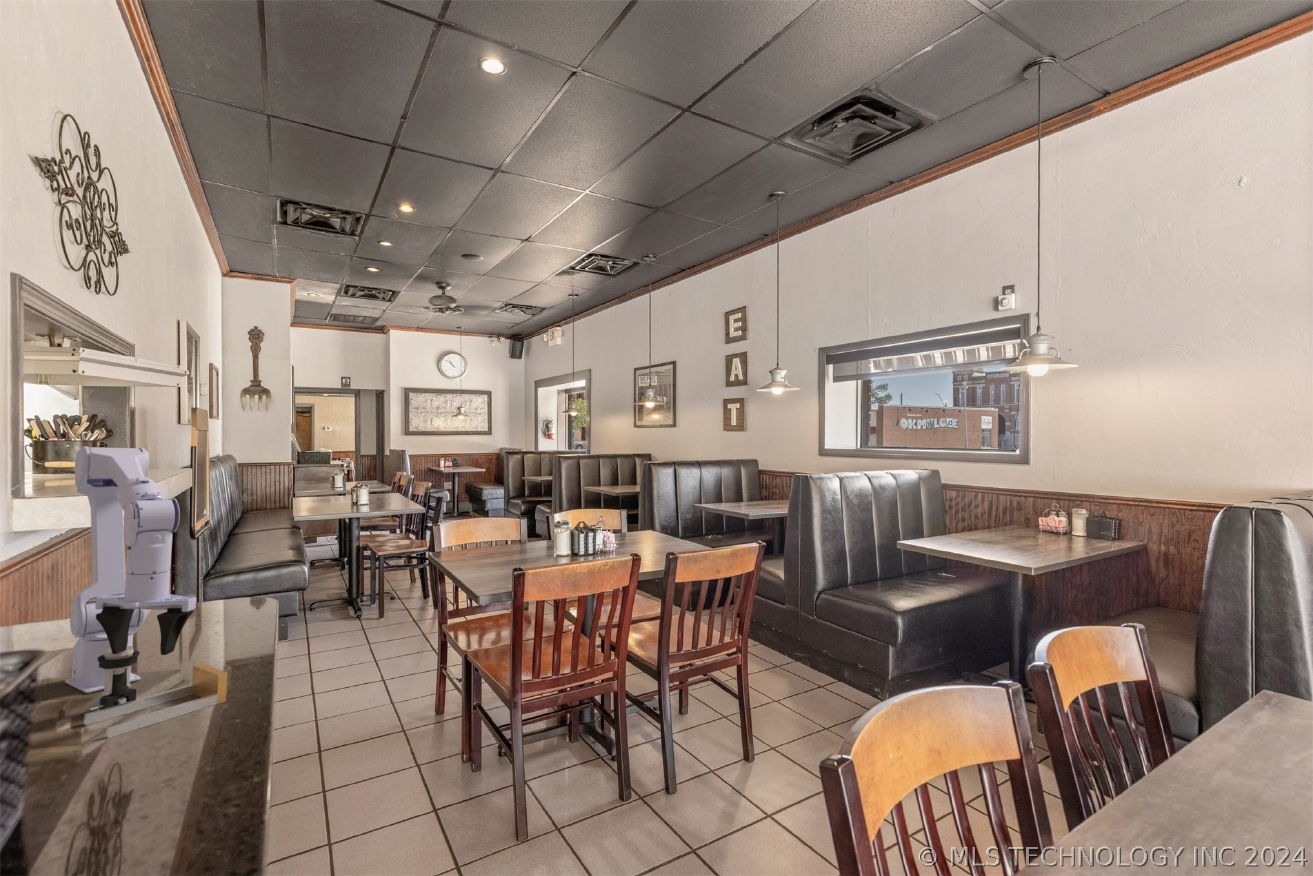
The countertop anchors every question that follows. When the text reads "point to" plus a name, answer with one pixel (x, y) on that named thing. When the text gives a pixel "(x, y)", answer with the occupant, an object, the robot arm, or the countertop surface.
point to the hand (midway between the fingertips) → (143, 652)
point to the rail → (204, 684)
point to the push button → (117, 678)
